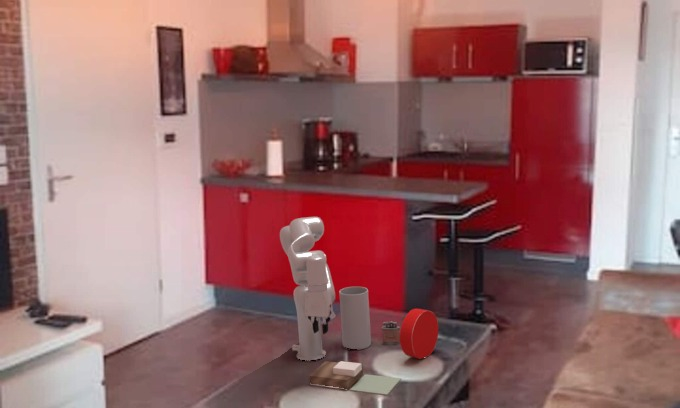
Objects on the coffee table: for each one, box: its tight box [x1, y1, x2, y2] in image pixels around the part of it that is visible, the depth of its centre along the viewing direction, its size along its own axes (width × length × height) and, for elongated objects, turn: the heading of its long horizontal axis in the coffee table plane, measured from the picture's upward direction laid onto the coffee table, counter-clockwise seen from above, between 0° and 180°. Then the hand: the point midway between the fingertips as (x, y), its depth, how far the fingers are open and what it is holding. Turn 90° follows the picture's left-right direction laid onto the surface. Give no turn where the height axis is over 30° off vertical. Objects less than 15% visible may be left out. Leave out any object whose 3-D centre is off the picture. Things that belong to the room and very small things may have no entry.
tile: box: [333, 360, 363, 377], centre depth 285 cm, size 9×7×2 cm
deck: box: [308, 360, 364, 391], centre depth 288 cm, size 16×15×4 cm
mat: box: [349, 373, 402, 396], centre depth 281 cm, size 15×15×1 cm
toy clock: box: [399, 308, 439, 360], centre depth 305 cm, size 20×6×20 cm, turn 141°
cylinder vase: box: [338, 286, 372, 351], centre depth 322 cm, size 12×12×25 cm
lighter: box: [381, 320, 401, 346], centre depth 323 cm, size 8×3×10 cm, turn 84°
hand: (320, 332), depth 287 cm, fingers open, 3 cm apart
